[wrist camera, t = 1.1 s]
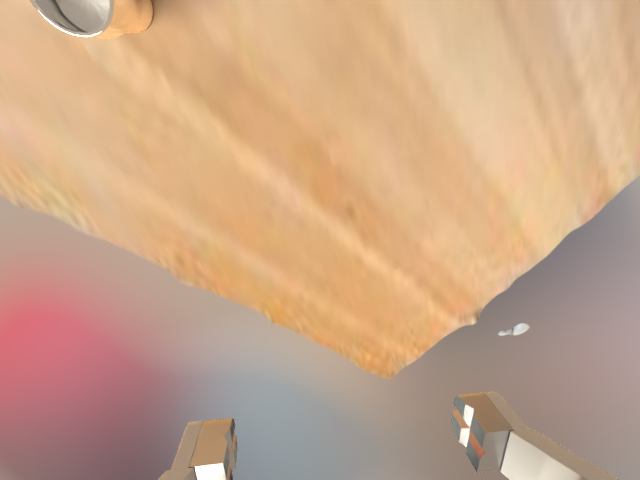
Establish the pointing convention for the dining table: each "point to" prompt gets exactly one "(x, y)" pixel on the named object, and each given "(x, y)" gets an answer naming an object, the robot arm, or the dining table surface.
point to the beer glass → (97, 16)
